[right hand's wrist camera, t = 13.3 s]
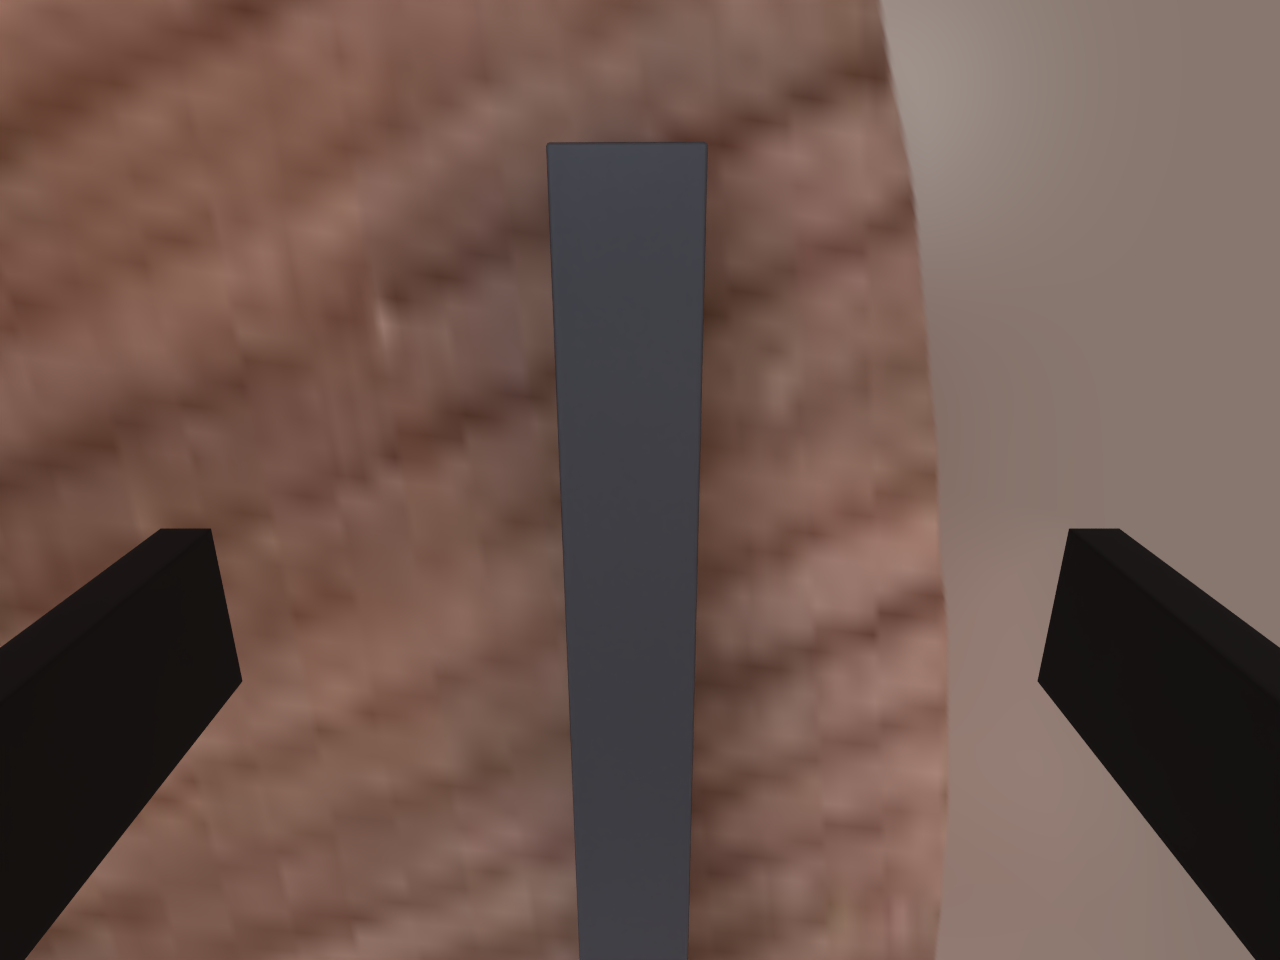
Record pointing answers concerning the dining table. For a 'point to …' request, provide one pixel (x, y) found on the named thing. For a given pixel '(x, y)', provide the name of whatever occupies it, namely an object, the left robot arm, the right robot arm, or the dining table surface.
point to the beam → (630, 523)
